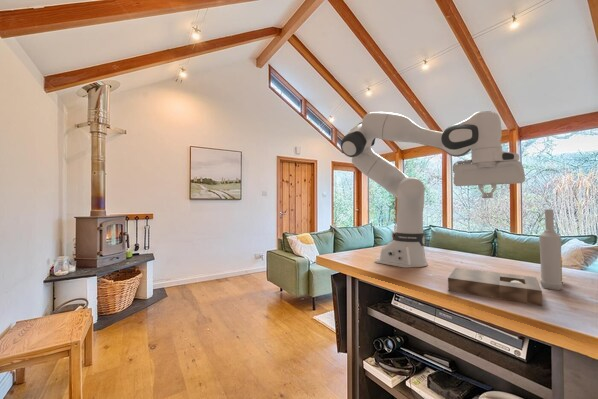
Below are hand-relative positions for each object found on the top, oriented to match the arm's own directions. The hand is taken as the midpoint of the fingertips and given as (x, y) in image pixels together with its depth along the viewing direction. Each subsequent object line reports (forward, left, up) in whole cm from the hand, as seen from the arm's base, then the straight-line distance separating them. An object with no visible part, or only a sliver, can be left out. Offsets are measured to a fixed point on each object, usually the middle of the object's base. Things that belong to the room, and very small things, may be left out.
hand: (487, 198), depth 93 cm
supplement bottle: (+17, +14, -29) cm, 37 cm away
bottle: (+16, +4, -29) cm, 34 cm away
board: (+1, -10, -29) cm, 31 cm away
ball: (+7, -10, -27) cm, 30 cm away
